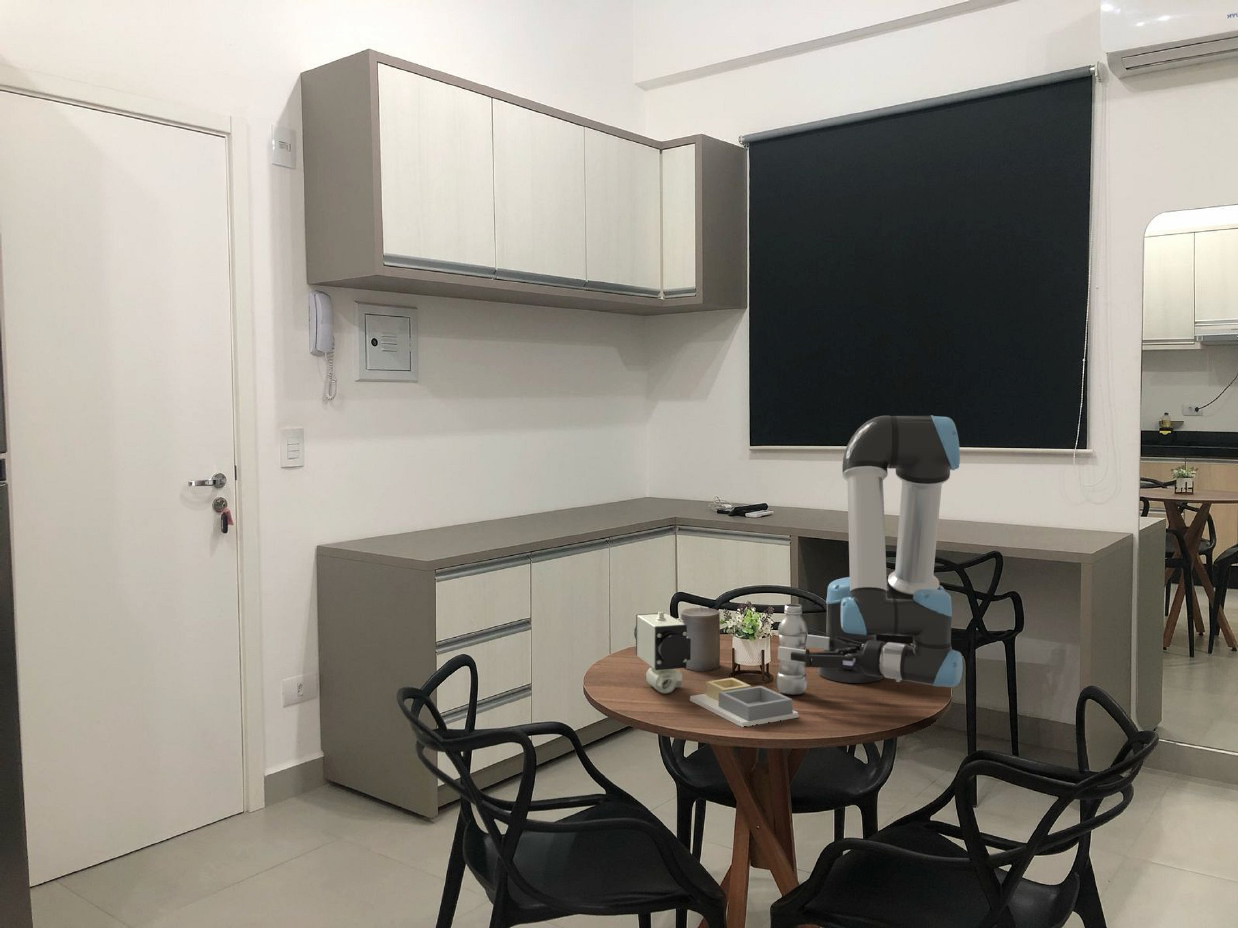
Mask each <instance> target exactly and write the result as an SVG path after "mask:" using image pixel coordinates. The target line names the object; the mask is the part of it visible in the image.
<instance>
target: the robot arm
mask: <svg viewBox="0 0 1238 928" xmlns="http://www.w3.org/2000/svg"><path fill="white" fill-rule="evenodd" d="M960 449H961V448H960V441H959V435H958V430H957V427H956V424H955V422H954V421H953V419H952V418H950V417H948V416H938V415H937V416H936V415H935V416H934V415H933V414H932V415H892V416H891V415H880V416H875V417H873V418H871V419H869V420H867V421H865V423H863V424H862V425H861V426H860V427H859V428H857V430H856V431H855V432H854V433H853V435H852V436H851V438H850V440H849V442H848V443H847V446H846V448H845V450H844V454H843V458H842V465H841V466H842V468H841V469H842V477H843V480H846V482H847V513H848V514H847V517H848V520H847V521H848V555H849V557H848V558H849V561H848V563H849V576H846V577H841V578H839V579H838V578H837V579H835V580H832V581H831V582H830V583H829V584H828V586H827V591H826V593H827V594H826V595H827V596H826V600H825V603H826V628H825V629H826V632H825V633H826V635H825V636H822V635H814V634H807V640H806V646H805V650H801V649H794V648H787V647H780V645H779V646H777V660H779V661H780V660H785V661H792V662H799V663H805V668H818V669H817V672H818V673H817V674H818V675H819V676H820V677H822V678H824V679H827V680H830V681H834V682H835V681H836V682H840V683H850V684H866V683H867V684H868V683H874V682H878V681H880V680H882V679H883V678H885V679H892V680H895V682H897V683H900V682H901V681H906V682H912V683H917V684H924V685H930V686H933V687H944V688H955V687H957V686H958V685H959V684H960V682H961V680H962V677H963V669H964V668H963V667H964V664H963V663H964V662H963V655H962V653H961V652H960V651H959V650H955V649H952V642H951V641H952V618H953V612H952V597H951V595H950V593H948V592H947V591H945V588H944V587H943V585H940V581H939V578H937V577H936V576H935V575H934V571H935V561H936V560H935V559H936V551H937V538H938V529H939V528H938V527H939V519H940V506H941V496H942V488H943V487H942V486H943V484H944V483H946V482H948V481H949V479H950V477H951V471H955V470H958V469H959V467H960V462H961V451H960ZM888 469H893V470H894V469H895V476H896V477H897V478H899V480H900V481H901V488H900V489H901V491H900V504H899V505H900V506H899V518H898V527H897V529H898V530H897V542H896V554H895V555H896V556H895V557H896V558H895V570H894V571H892V572H891V573H890V574H889V575H888V577H887V558H886V557H887V556H886V554H887V553H886V529H885V501H884V500H885V499H884V498H885V497H884V480H886V478H887V477H888V476H889V475H888ZM877 636H898V637H902V636H903V637H912V644H907V643H902V642H901V643H900V642H893V641H892V642H891V641H888V642H885V641H883V640H877ZM809 648H811V649H819V650H822V651H810V649H809Z"/></svg>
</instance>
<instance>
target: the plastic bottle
mask: <svg viewBox="0 0 1238 928" xmlns="http://www.w3.org/2000/svg"><path fill="white" fill-rule="evenodd" d="M783 612H784V613H783V614H785V616H784V617H783V618H782V620H781V621H780V623H779V625H778V628H777V632H778V639H779V641H778V642H779V646H780V647H787V648H794V649H801V650H806V647H805V646H806V640H807V635H809V634H808V632H809V628H808V624H807V623H806V621H805V620H804V618H803V617H802V615H803V611H802V604H797V603H787V604H784V610H783ZM778 665H779V666H778V672H777V675H776V676H777V677H776V686H777V689H778V692H780V694H783V695H791V696H792V695H794V696H795V695H802V694H803V693H805V691H806V690H807V685H808V679H807V674H806V667H805V663H799V662H792V661H785V660H779V664H778Z"/></svg>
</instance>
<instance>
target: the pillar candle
mask: <svg viewBox="0 0 1238 928" xmlns="http://www.w3.org/2000/svg"><path fill="white" fill-rule="evenodd" d="M679 613H680V620H683V622H684V624H685V625H687V637H688V638H690V639H691V659H690V660H687V665H686V668H685V669H686V670H690V671H693V670H694V671H695V672H707V671H713V670H717V669H720V667H721V664H720V663H721V662H720V661H721V655H720V654H721V626H720V625H721V624H720V623H721V620H720V619H721V618H720V617H721V616H720V615H721V614H720V611H719V610H718V609H715V608H710V607H689V608H685V609H682V610H681V611H680V612H679Z"/></svg>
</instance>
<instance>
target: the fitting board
mask: <svg viewBox="0 0 1238 928" xmlns="http://www.w3.org/2000/svg"><path fill="white" fill-rule="evenodd" d="M689 701H690V702H692V703H694V704H696V705H698V706H699V707H702V708H704V709H706V710H707V711H710V712H711V713H713V714H715V715H717V716H719V717H722V718H723V719H725V720H727V721H730V722H731V723H733V724H735V725H737V726H739V727H740V726H741V727H740V728H745V727H744V726H747V727H751V726H752V725H753V726H756V724H758V725H764V724H768V722H770V723H774V722H779V721H780V720H781V721H786V720H790V719H791V720H793V719H795V718H799V712H798V711H796V710H793V709H794V705H793V703H794V702H793V699H792V698H790V697H789V696H786V695H785V694H783V693H779V692H777V691H774V690H773V689H769V688H767V687H765V686H763V685H757V686H752V685H750V684H748V683H746V682H744V681H741V680H739V679H737V678H735V677H728V678H720V679H716V680H709V681H706V682H705V693H702V694H694V695H689Z"/></svg>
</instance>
